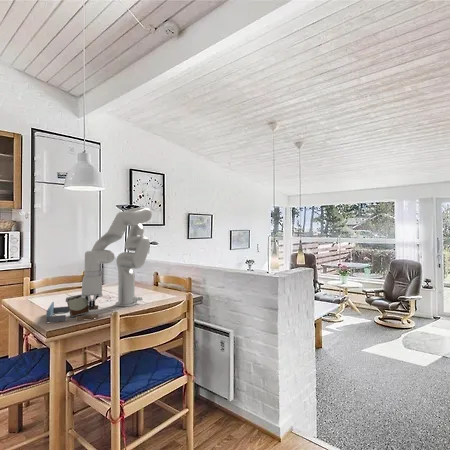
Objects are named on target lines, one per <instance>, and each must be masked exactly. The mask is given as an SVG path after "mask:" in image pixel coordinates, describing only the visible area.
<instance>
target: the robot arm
mask: <svg viewBox="0 0 450 450" xmlns="http://www.w3.org/2000/svg"><path fill="white" fill-rule="evenodd" d="M152 216H153V213H152V211H151V209H150V208H149V207H136V208H135V207H133V208H130V209H128V210H127V211H124V210H123V211H119V212H118V213H116V215H115V217H114V219H113V221H112V223H111V225H110V227H109V228H108V231H107V232H105V233H104V234H102V236H101V237H100V238H98V240H97V241H96V242H95V244H94V245H93V247H92V249H91V250H88V251H85V253H84V276H82V281H81V294H82V296H81V298H86V299H87V300H88V301H89V307H90V309H91V308H94V306H96V300H97V299H98V298H101V297H103V296H104V295H103V280H102V279H103V278H102V276H101V275H102V274H103V271H101V269H100V268H101V264H110V263H112V262H113V261H114V260H115V254H114V251H112V250H109V249H106V248H107V247H108V246H110V245H112V244H113V243H116V242H118V241H119V240H121V239H122V238H123V236H124V234H125V232H126V230H127V227H128V226H130V229H129V232H128V234H127V236H126V237H127V238H126V241H125V243H124V248H125V249H126V251H123V252H121V253H119V254H118V255H117V257H116V266H117V271H118V272H117V274H118V275H117V276H118V278H117V281H118V283H117V287H118V289H117V291H118V293H117V302H115V306H116V307H123V308H124V307H125V308H127V307H132V306H135V305H138V302H139V301H143V297H141V296H138V297H137V296H136V292H135V287H136V285H135V282H136V280H135V271H134V270H135V269H136V270H138V269H141V268H143V266H144V264H145V262H146V259H147V257H148V254H149V251H150V247H151V245H150V244H151V243H150V242H151V241H150V240H149V238H148V237H147V236H143V235H144V232H145V228H144V226H143V223H146V222H149V221H150V220H151V219H152ZM91 296H93V298H92V297H91Z"/></svg>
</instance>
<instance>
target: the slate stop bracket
mask: <svg viewBox="0 0 450 450" xmlns="http://www.w3.org/2000/svg"><path fill="white" fill-rule="evenodd" d="M58 312H64V313H70V312H69V308H68V305H67V306H58V307H57V306H55V302H54V301H52V302H51V304H50V305H49V306H48V308H47V309H46V323H47V322H54V323H58V322H57V321H64V322H66V321H67V320H66V317H67V316H66V314H61V315H54V314H59V313H58ZM53 313H54V314H53ZM52 315H53V316H52Z"/></svg>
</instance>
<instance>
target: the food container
mask: <svg viewBox="0 0 450 450" xmlns="http://www.w3.org/2000/svg"><path fill="white" fill-rule="evenodd" d="M81 296H82V293H81V294H77V295H73V296H67V297H66V299H65V302H66V304H67V306H68V308H69V312H68V313H69V317H76V316H81V315H84V314H87V313H90V310H89V301H88V300H87V299H86V298H81Z"/></svg>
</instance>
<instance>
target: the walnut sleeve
mask: <svg viewBox="0 0 450 450" xmlns="http://www.w3.org/2000/svg"><path fill="white" fill-rule="evenodd" d="M91 309H94V310H99V305H98V304H97V305H96V304H95V306H94V308H91ZM91 309H90V307H89V311H90V310H91ZM91 311H92V310H91ZM75 318H76V319H75V321H76V320H80V321H85V320H84V319H91V320H95V319H94V318H98V319H99V316H98V314H89V315H76V316H75Z"/></svg>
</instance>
